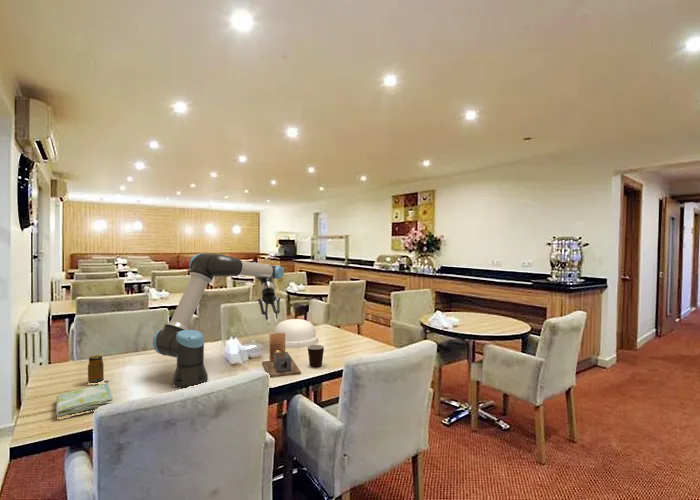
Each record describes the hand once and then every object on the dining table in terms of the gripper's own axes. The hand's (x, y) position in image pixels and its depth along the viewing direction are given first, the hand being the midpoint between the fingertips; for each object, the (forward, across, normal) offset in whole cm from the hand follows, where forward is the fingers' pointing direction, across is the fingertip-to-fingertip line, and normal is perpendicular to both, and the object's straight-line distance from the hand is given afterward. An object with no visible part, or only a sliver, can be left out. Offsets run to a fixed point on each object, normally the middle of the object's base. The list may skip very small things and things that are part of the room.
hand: (272, 323), depth 229 cm
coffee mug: (+32, -19, +7) cm, 38 cm away
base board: (+32, 0, +7) cm, 32 cm away
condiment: (+26, +83, +1) cm, 87 cm away
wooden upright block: (+28, 0, +5) cm, 28 cm away
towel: (+45, +82, +19) cm, 95 cm away
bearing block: (+34, 0, +10) cm, 35 cm away
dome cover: (-2, -18, -28) cm, 34 cm away
